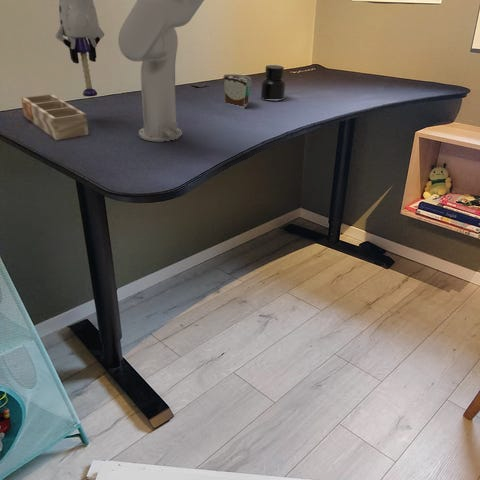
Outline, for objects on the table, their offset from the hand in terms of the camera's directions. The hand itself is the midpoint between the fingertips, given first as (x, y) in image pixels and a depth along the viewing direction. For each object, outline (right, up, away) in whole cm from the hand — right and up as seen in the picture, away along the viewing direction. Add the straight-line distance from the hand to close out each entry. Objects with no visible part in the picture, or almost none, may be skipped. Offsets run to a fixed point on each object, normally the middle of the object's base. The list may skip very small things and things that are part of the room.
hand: (84, 61), depth 140 cm
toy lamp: (0, -9, +5) cm, 10 cm away
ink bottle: (+59, +1, +43) cm, 73 cm away
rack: (-10, -18, +3) cm, 21 cm away
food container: (+47, -4, +33) cm, 57 cm away
